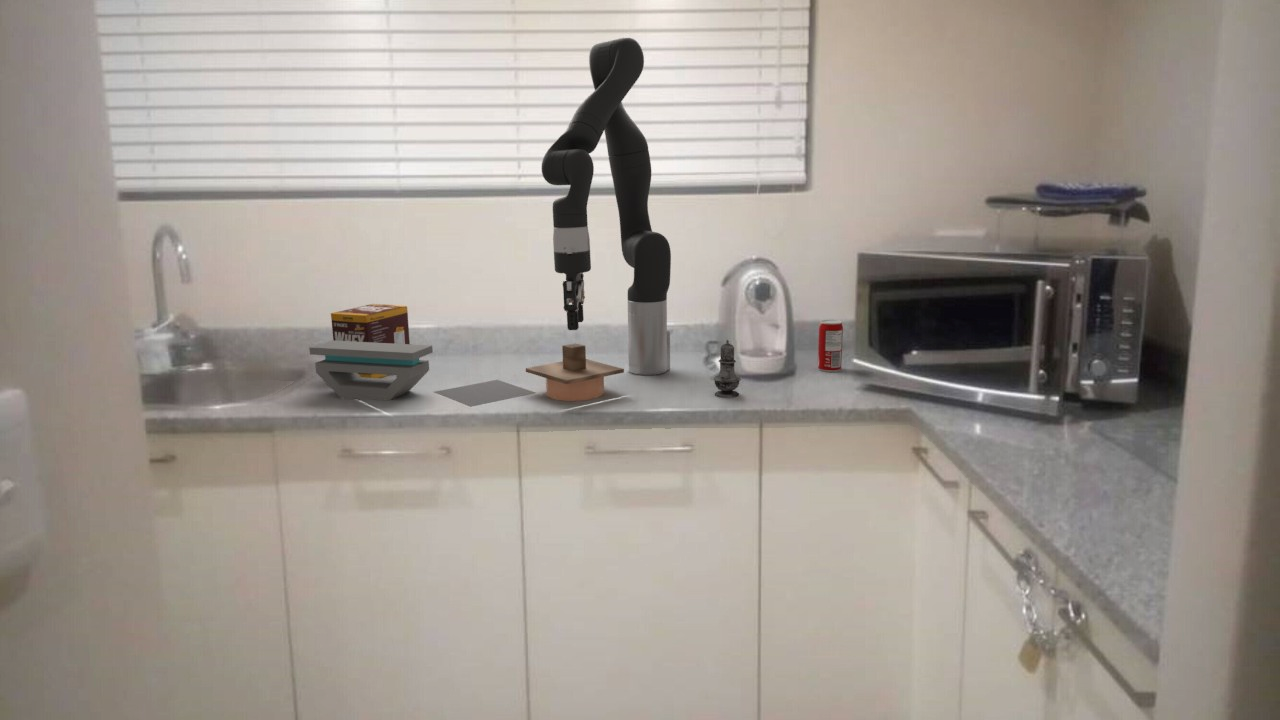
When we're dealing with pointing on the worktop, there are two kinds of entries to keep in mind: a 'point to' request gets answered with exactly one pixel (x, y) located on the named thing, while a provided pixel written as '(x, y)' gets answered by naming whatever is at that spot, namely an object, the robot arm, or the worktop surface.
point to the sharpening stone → (370, 368)
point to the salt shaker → (727, 373)
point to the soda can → (830, 345)
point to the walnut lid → (574, 367)
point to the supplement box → (372, 326)
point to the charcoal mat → (484, 392)
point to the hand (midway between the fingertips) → (575, 325)
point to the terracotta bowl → (575, 389)
